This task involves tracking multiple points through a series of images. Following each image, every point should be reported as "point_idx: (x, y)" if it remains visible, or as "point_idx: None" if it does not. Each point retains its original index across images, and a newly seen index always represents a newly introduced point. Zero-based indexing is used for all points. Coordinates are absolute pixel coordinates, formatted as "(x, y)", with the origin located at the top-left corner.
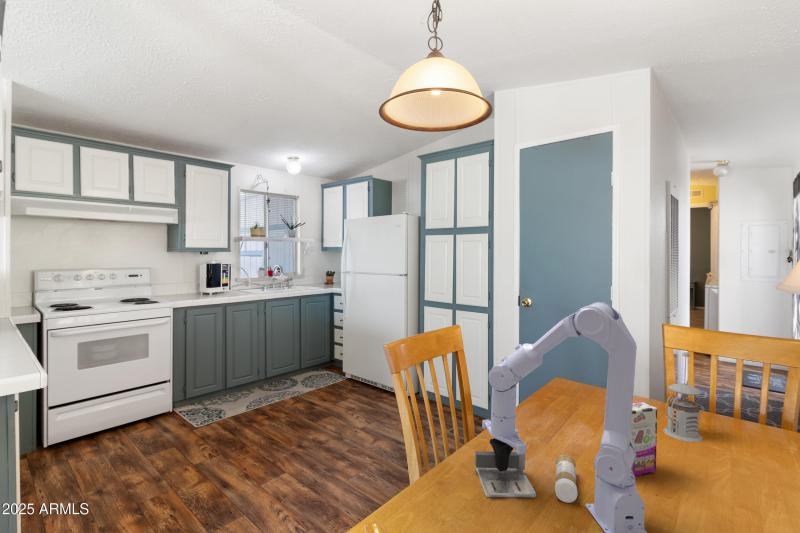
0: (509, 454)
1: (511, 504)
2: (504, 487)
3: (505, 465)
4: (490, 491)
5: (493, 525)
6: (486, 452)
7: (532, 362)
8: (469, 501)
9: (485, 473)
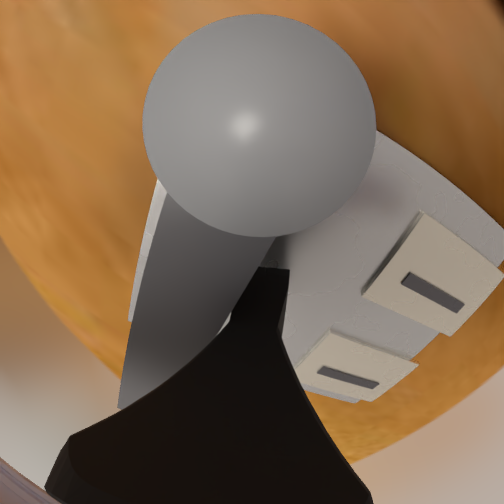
0: (292, 375)
1: (446, 345)
2: (384, 343)
3: (284, 310)
4: (364, 397)
5: (442, 412)
6: (137, 388)
7: None
8: (334, 420)
9: None
